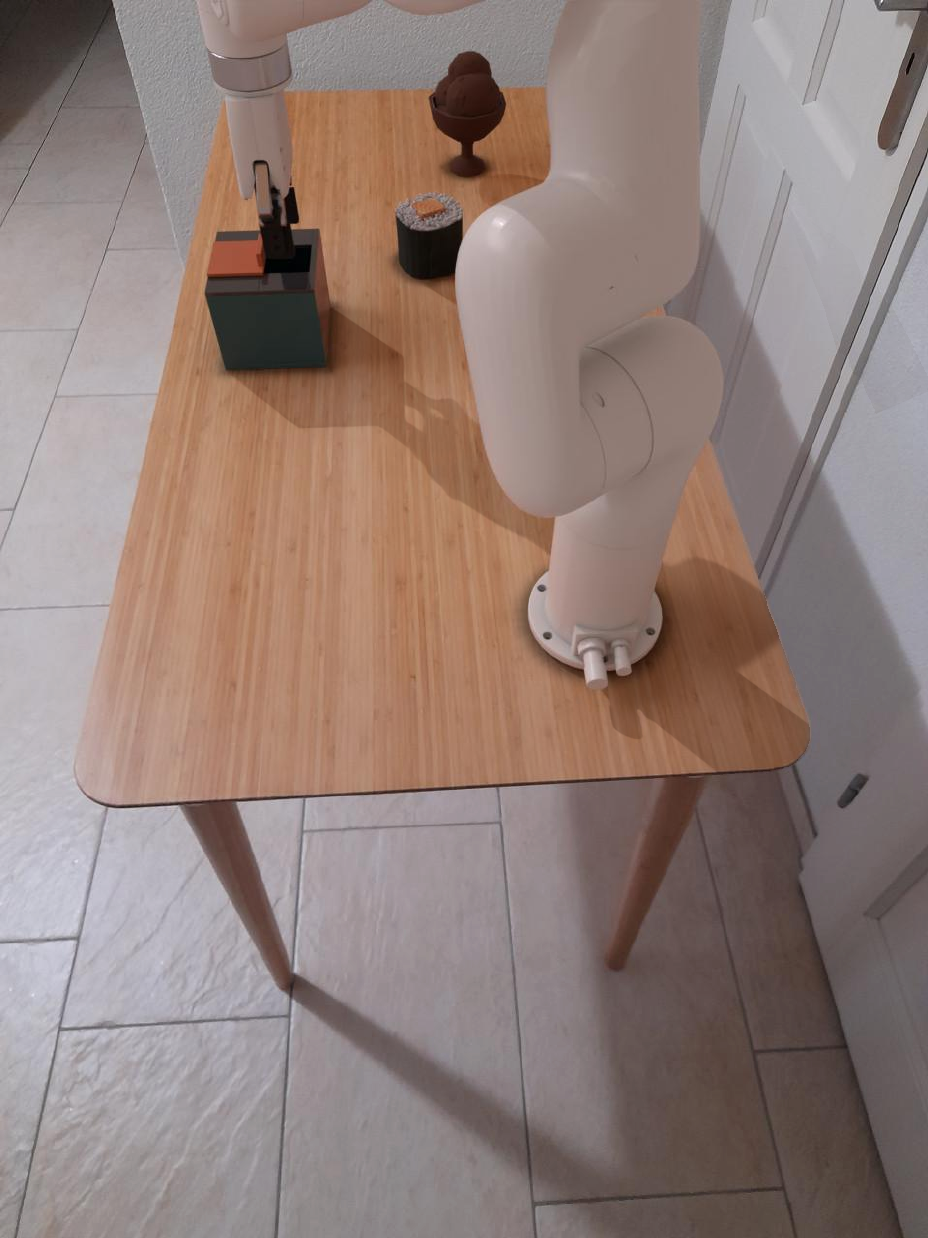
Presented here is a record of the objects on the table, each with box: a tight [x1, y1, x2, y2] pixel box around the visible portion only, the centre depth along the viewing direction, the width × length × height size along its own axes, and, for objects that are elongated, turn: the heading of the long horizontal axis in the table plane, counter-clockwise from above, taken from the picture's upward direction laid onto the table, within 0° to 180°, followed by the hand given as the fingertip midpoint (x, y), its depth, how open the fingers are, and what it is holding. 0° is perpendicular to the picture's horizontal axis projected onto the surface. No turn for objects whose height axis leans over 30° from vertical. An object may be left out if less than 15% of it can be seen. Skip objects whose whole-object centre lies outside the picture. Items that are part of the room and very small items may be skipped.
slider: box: [206, 234, 266, 277], centre depth 99 cm, size 6×6×2 cm
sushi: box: [393, 191, 464, 281], centre depth 114 cm, size 8×8×8 cm
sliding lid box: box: [203, 228, 332, 371], centre depth 104 cm, size 12×12×10 cm
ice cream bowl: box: [428, 50, 507, 178], centre depth 125 cm, size 11×11×15 cm
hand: (283, 238), depth 98 cm, fingers open, 6 cm apart
